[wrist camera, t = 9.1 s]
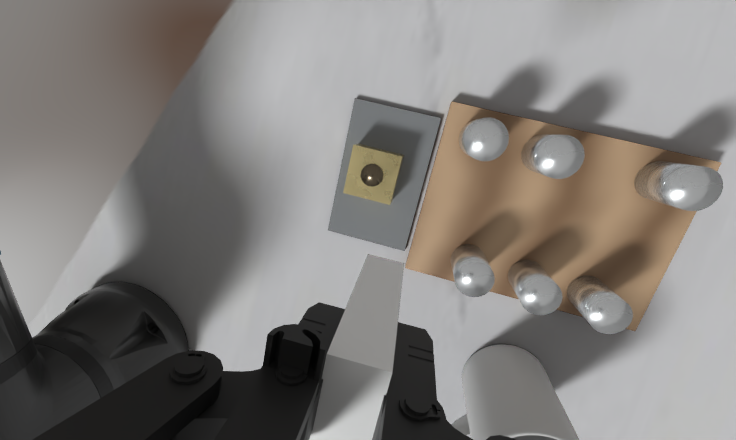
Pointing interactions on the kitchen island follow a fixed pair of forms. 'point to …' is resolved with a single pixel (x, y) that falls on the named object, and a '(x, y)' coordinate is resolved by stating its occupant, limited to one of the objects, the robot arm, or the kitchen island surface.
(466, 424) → the mug
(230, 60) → the kitchen island surface
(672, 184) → the spacers
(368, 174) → the nut
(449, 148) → the board
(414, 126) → the mat
